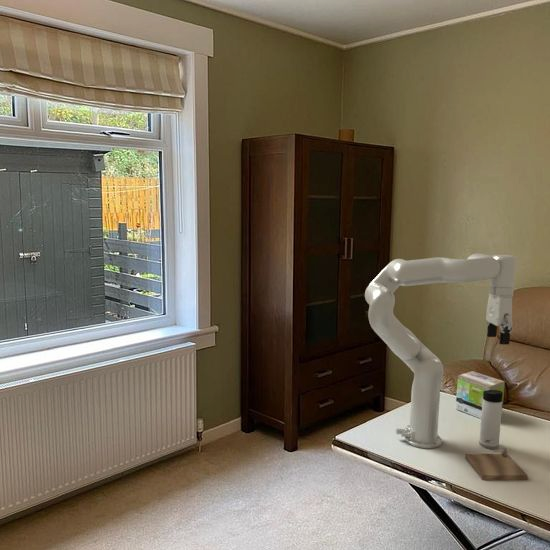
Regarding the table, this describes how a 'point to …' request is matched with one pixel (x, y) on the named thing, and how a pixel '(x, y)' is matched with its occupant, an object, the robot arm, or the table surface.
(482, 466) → the walnut board
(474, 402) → the tea box
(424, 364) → the robot arm
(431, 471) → the table surface
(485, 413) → the travel mug
